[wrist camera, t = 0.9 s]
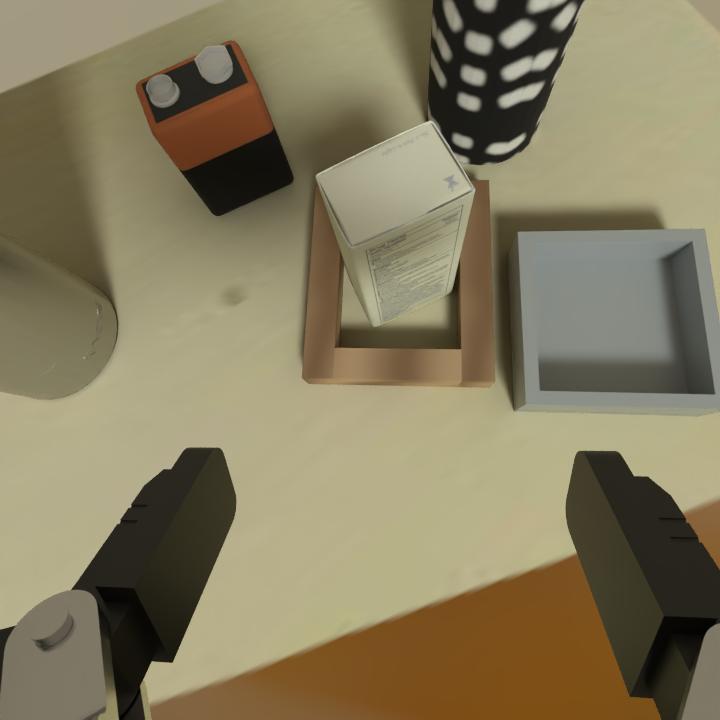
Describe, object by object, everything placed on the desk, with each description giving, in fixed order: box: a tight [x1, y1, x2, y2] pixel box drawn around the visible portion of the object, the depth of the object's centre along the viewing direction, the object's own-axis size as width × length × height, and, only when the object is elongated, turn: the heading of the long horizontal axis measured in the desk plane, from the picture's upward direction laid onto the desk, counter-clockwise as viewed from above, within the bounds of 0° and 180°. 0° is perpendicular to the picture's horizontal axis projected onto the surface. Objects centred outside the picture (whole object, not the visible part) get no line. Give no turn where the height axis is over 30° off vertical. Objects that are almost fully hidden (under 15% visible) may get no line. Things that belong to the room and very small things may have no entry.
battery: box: [136, 41, 294, 216], centre depth 30 cm, size 4×7×10 cm, turn 115°
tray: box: [508, 229, 720, 416], centre depth 28 cm, size 11×11×3 cm
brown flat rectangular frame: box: [302, 180, 495, 388], centre depth 31 cm, size 12×14×2 cm
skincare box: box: [316, 121, 475, 327], centre depth 26 cm, size 6×4×12 cm
